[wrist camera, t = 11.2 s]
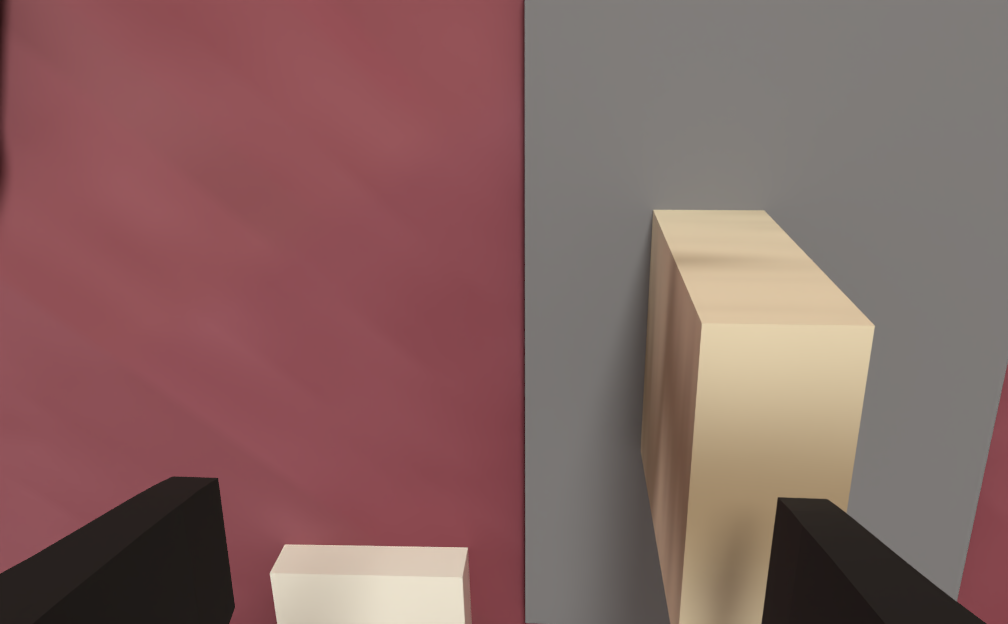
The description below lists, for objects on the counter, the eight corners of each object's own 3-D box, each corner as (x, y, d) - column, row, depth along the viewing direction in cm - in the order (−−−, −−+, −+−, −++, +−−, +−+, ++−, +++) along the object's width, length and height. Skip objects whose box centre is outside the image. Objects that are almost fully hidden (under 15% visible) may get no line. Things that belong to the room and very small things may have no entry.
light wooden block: (740, 453, 21) (823, 665, 14) (640, 450, 21) (676, 659, 14) (764, 210, 18) (874, 326, 12) (653, 210, 19) (701, 323, 12)
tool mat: (940, 625, 22) (948, 638, 22) (525, 610, 23) (525, 622, 23) (1075, -23, 17) (1089, -24, 16) (525, -17, 18) (524, -17, 17)
